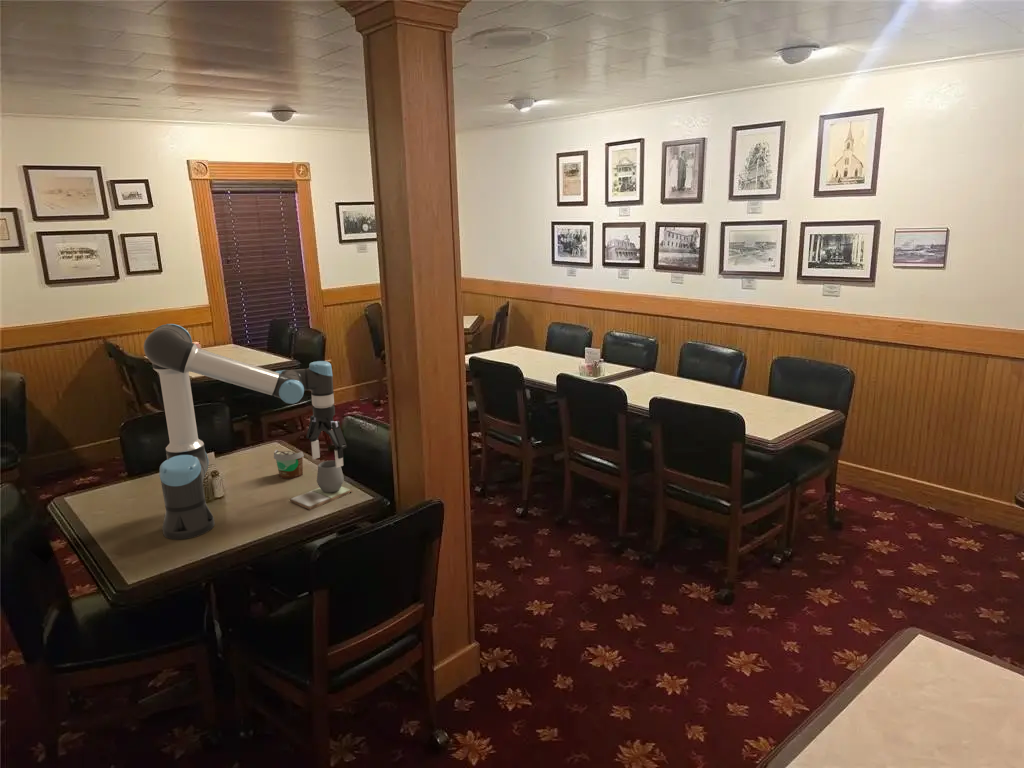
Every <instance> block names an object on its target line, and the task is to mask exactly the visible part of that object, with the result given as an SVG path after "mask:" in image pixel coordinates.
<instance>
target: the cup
mask: <svg viewBox="0 0 1024 768" xmlns="http://www.w3.org/2000/svg"><path fill="white" fill-rule="evenodd" d="M344 480H345V478H344V473H343V470H342V466H341V467H338V468H337V467H336V463H335V460H324V461H321V462H320V463H318V465H317V475H316V482H317V486H318V488H321V490H322V491H323V492H326V493H332V492H336V491H338V490H339V489H340V488H341V486H342V485H343V483H344ZM342 487H343V486H342Z"/></svg>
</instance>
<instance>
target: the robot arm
mask: <svg viewBox="0 0 1024 768" xmlns="http://www.w3.org/2000/svg"><path fill="white" fill-rule="evenodd" d="M192 339H193V338H192V336H191V334H190V333H189V331H188V330H187V329H185V328H184V327H183V326H182V325H178V324H175V323H166V324H162V325H160V326H157V327H156V328H155V329H154V330H153V331H152V332H151V333H150V334H149V335H148V336H147V337H146V339H145V340H144V343H143V351H144V352H143V353H144V355H145V357H146V358H147V359H148V360H149V361H150V363H152V364H151V365H152V369H153V370H154V371H155V372H157V373H158V375H159V381H160V387H161V395H162V401H163V407H164V413H165V419H166V426H167V433H168V438H169V439H168V440H169V443H168V444H167V446H166V447H165V453H166V455H165V456H166V460H164V461H163V462H162V463H161V464H160V466H159V472H158V474H159V479H160V482H161V483H160V485H161V491H162V495H163V501H164V507H165V514H164V519H163V522H162V534H163V536H164V537H165V538H166V539H169V540H185V539H192V538H194V537H198V536H201V535H203V534H206V533H207V532H209V531H211V530H212V529H213V528H214V527H215V525H216V522H215V517H214V515H213V513H212V511H211V510H210V508H209V506H208V505H207V501H206V496H205V489H204V479H205V476H206V473H207V471H208V469H209V466H210V465H209V464H210V463H209V462H210V460H209V457H208V453H207V452H206V449H205V443H204V441H203V440H202V439H199V435H198V434H199V433H198V427H197V422H196V413H195V407H194V400H193V393H192V386H191V379H190V373H194V374H196V375H197V374H198V375H201V376H205V377H208V378H211V379H215V380H218V381H221V382H224V383H228V384H233V385H235V386H238V387H241V388H244V389H249V390H252V391H254V392H255V391H256V392H259V393H262V394H266V395H270V396H274V398H278V399H280V400H282V401H283V403H286V404H296V403H299V402H300V401H301V400H302V398H303V397H304V395H305V394H304V393H305V392H306V391H311V405H312V406H313V407H312V415H310V416H309V425H308V427H307V432H306V439H307V440H308V439H309V441H310V446H311V448H310V449H311V456H312V457H311V459H312V460H316V459H319V458H320V457H321V454H320V453H321V450H320V441H319V437H320V435H321V433H322V432H325V433H326V434H327V435H328V436H329V438H330V440H331V443H333V446H334V459H335V460H334V461H335V463H336V467H337V468H338V467H341V468H342V467H343V466H344V449H346V448H348V445H347V442H346V439H345V437H344V434H343V431H342V428H341V423H340V421H339V420H336V421H334V416H335V415H336V407H335V405H334V404H335V397H334V375H333V369H332V363H330V362H329V361H326V360H317V361H313V362H310V363H309V365H308V366H309V367H308V368H299V369H283V370H276V371H274V370H270V369H266V368H262V367H261V366H257V365H254V364H250V363H247V362H244V361H240V360H237V359H234V358H232V357H227V356H224V355H221V354H217V353H215V352H211V351H207V350H205V349H201V348H199V347H198V346H197V344H196V343H194V342H193V340H192Z"/></svg>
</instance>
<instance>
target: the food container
mask: <svg viewBox="0 0 1024 768" xmlns="http://www.w3.org/2000/svg"><path fill="white" fill-rule="evenodd" d="M304 456H305V455H304V453H303V451H299V452H294V451H279V449H278V448H277V449H276V448H275V450H274V452H273V459H274V460H275V462H276V466H277V470H278V476H279V478H280V479H283V480H284V479H286V480H291V479H297V478H299V477H302V476H303V468H304V467H303V465H304V464H303V463H304V462H303V458H304Z"/></svg>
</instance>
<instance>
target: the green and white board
mask: <svg viewBox="0 0 1024 768" xmlns="http://www.w3.org/2000/svg"><path fill="white" fill-rule="evenodd" d="M350 492H352V493H353V490H351V488H348V487H344V486H341V488H340V489H339V490H338V491H336V492H332V493H326V492H323V491H322V490H321V488H320V487H318V488H314V489H312V490H310V491H308V492H305V493H301V494H299V495H296V496H294V497H291V498H290V499H289V502H291V503H292V504H295V505H298V506H300V507H302V508H303V509H308V510H314V509H315V508H319V507H321V506H323V505H327V504H328V503H330V502H333V501H335V499H336V500H337V498H338V499H340V498H342V496H343V497H345V496H347V495H346V494H348V493H350ZM350 494H351V493H350ZM344 495H345V496H344ZM348 495H349V494H348ZM339 497H340V498H339Z"/></svg>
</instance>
